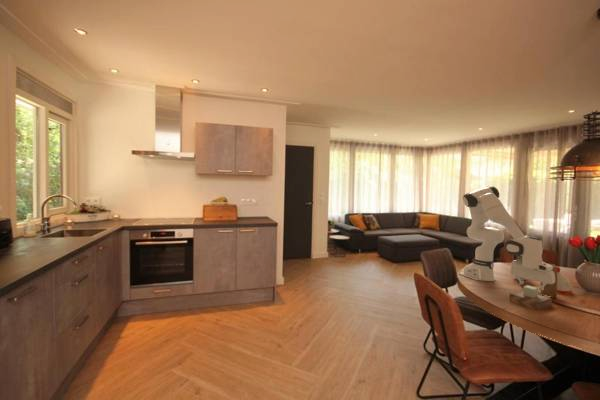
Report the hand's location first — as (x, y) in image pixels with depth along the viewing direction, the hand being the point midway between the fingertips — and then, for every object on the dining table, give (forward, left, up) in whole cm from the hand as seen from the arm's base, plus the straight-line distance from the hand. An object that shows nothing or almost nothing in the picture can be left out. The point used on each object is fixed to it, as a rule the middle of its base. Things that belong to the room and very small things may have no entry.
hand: (531, 287), depth 159 cm
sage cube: (0, -1, -5) cm, 5 cm away
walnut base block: (0, -1, -10) cm, 10 cm away
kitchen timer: (-2, +41, -10) cm, 43 cm away
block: (0, +23, -10) cm, 26 cm away
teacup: (-25, +45, -10) cm, 53 cm away
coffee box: (-32, +67, -10) cm, 75 cm away
